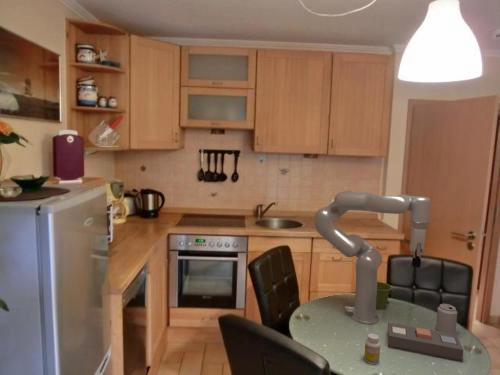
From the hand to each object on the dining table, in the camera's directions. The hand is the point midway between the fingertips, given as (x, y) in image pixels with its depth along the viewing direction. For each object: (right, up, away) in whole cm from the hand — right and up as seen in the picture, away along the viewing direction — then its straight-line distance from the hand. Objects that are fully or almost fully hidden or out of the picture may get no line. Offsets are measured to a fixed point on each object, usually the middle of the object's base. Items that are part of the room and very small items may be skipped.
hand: (416, 266), depth 151 cm
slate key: (+6, -30, -14) cm, 33 cm away
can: (+14, -30, +2) cm, 33 cm away
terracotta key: (-2, -28, -11) cm, 30 cm away
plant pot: (-7, -27, +26) cm, 38 cm away
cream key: (-11, -29, -7) cm, 31 cm away
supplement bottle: (-27, -31, -20) cm, 46 cm away
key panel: (-2, -30, -10) cm, 32 cm away
